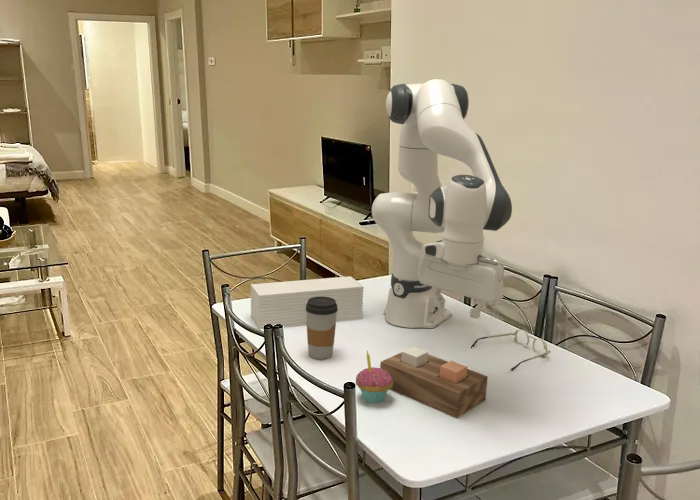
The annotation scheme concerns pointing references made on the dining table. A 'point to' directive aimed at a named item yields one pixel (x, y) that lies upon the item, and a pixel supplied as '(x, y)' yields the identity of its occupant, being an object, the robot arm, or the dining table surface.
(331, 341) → the coffee cup
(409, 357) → the cream white cube
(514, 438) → the dining table surface
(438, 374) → the walnut key panel
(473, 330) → the dining table surface
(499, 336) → the round eyeglasses
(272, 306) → the stack of papers
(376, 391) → the cupcake
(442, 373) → the terracotta key
